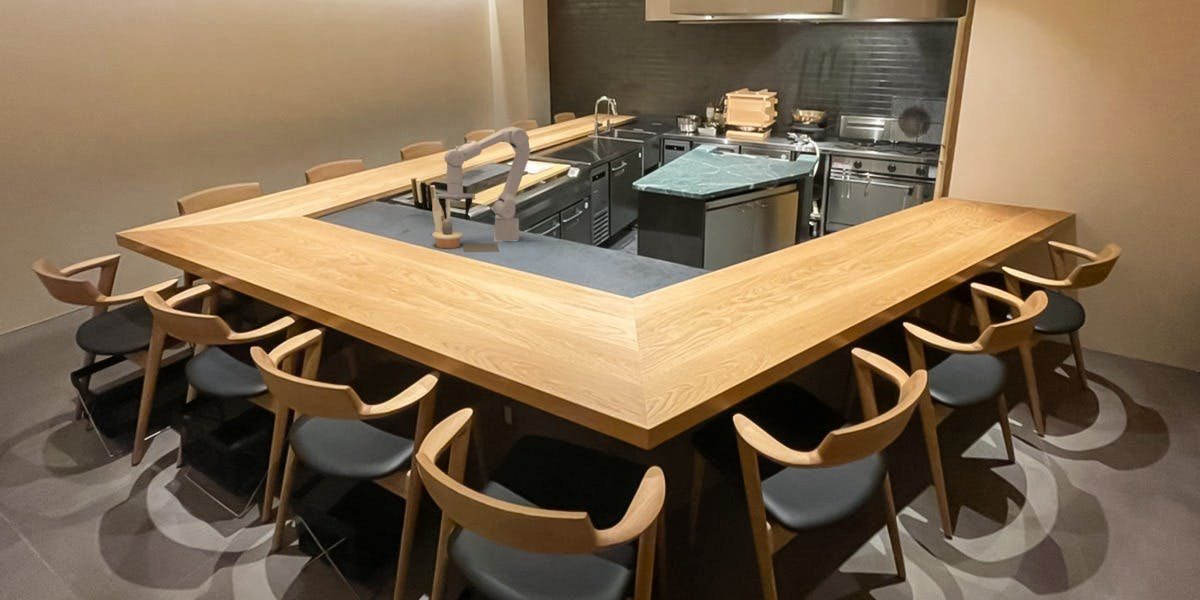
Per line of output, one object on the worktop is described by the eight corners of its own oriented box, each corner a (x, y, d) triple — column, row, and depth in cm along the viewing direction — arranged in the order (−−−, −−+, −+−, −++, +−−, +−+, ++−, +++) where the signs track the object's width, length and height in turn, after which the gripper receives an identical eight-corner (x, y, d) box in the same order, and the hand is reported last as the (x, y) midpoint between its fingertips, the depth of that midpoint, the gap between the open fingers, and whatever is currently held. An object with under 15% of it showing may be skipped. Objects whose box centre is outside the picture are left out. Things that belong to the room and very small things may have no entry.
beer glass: (453, 234, 272) (452, 197, 268) (448, 238, 266) (446, 200, 261) (436, 233, 273) (435, 196, 268) (430, 236, 266) (429, 199, 261)
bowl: (459, 243, 258) (459, 233, 257) (460, 248, 250) (459, 238, 249) (436, 243, 256) (435, 233, 255) (435, 249, 248) (435, 238, 247)
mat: (496, 244, 260) (496, 243, 259) (499, 252, 248) (499, 251, 247) (462, 244, 257) (462, 243, 256) (463, 253, 245) (463, 251, 244)
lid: (461, 232, 258) (461, 220, 257) (463, 239, 248) (463, 226, 246) (432, 232, 255) (431, 220, 254) (432, 239, 245) (432, 226, 244)
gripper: (435, 184, 245) (436, 220, 250) (475, 184, 249) (476, 220, 253) (435, 181, 252) (436, 216, 256) (474, 181, 255) (474, 216, 259)
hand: (456, 218), depth 255 cm, fingers open, 7 cm apart
